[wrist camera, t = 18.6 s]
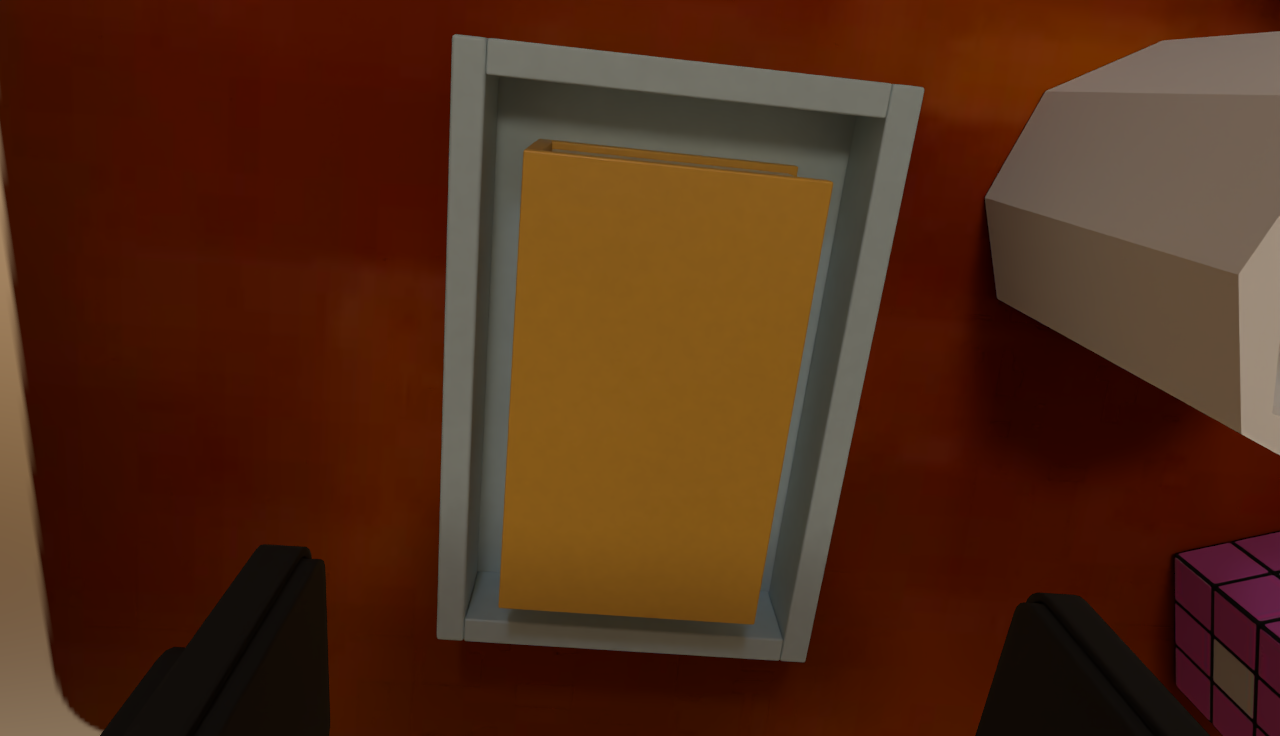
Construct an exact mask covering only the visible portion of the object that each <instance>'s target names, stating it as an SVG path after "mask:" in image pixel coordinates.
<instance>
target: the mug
mask: <svg viewBox="0 0 1280 736" xmlns="http://www.w3.org/2000/svg"><path fill="white" fill-rule="evenodd" d="M985 205H986V213H987V221H988V229H989V237H990V245H991V253H992V262H993V270H994V278H995V286H996V294H997V299H999V300H1001V301H1002V302H1004V303H1006V304H1008V305H1010V306H1011V307H1013V308H1015V309H1017V310H1019V311H1020V312H1022V313H1024V314H1026V315H1028V316H1029V317H1031V318H1033V319H1035V320H1037V321H1038V322H1040V323H1042V324H1044V325H1046V326H1047V327H1049V328H1051V329H1053V330H1055V331H1057V332H1058V333H1060V334H1062V335H1064V336H1066V337H1067V338H1069V339H1071V340H1073V341H1075V342H1076V343H1078V344H1080V345H1082V346H1084V347H1085V348H1087V349H1089V350H1091V351H1093V352H1094V353H1096V354H1098V355H1100V356H1102V357H1103V358H1105V359H1107V360H1109V361H1111V362H1112V363H1114V364H1116V365H1118V366H1120V367H1121V368H1123V369H1125V370H1127V371H1129V372H1130V373H1132V374H1134V375H1136V376H1138V377H1139V378H1141V379H1143V380H1145V381H1147V382H1148V383H1150V384H1152V385H1154V386H1156V387H1157V388H1159V389H1161V390H1163V391H1165V392H1166V393H1168V394H1170V395H1172V396H1174V397H1175V398H1177V399H1179V400H1181V401H1183V402H1184V403H1186V404H1188V405H1190V406H1192V407H1194V408H1195V409H1197V410H1199V411H1201V412H1203V413H1204V414H1206V415H1208V416H1210V417H1212V418H1213V419H1215V420H1217V421H1219V422H1221V423H1222V424H1224V425H1226V426H1228V427H1230V428H1231V429H1233V430H1235V431H1237V432H1239V433H1240V434H1242V435H1244V436H1246V437H1248V438H1249V439H1251V440H1253V441H1255V442H1257V443H1259V444H1260V445H1262V446H1264V447H1266V448H1268V449H1269V450H1271V451H1273V452H1275V453H1277V454H1278V455H1280V31H1278V32H1265V33H1252V34H1240V35H1227V36H1214V37H1202V38H1189V39H1176V40H1163V41H1161V42H1159V43H1156V44H1154V45H1152V46H1149V47H1147V48H1145V49H1142V50H1140V51H1138V52H1135V53H1133V54H1131V55H1128V56H1126V57H1124V58H1121V59H1119V60H1117V61H1115V62H1112V63H1110V64H1108V65H1105V66H1103V67H1101V68H1098V69H1096V70H1094V71H1091V72H1089V73H1087V74H1084V75H1082V76H1080V77H1077V78H1075V79H1073V80H1070V81H1068V82H1066V83H1064V84H1061V85H1059V86H1057V87H1054V88H1052V89H1050V90H1047V91H1045V93H1044V95H1043V96H1042V98H1041V100H1040V102H1039V103H1038V105H1037V107H1036V109H1035V110H1034V112H1033V114H1032V116H1031V117H1030V119H1029V121H1028V123H1027V124H1026V126H1025V128H1024V130H1023V131H1022V133H1021V135H1020V137H1019V138H1018V140H1017V142H1016V144H1015V145H1014V147H1013V149H1012V151H1011V152H1010V154H1009V156H1008V158H1007V159H1006V161H1005V163H1004V165H1003V166H1002V168H1001V170H1000V172H999V173H998V175H997V177H996V179H995V180H994V182H993V184H992V186H991V187H990V189H989V191H988V193H987V194H986V196H985Z"/></svg>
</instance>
